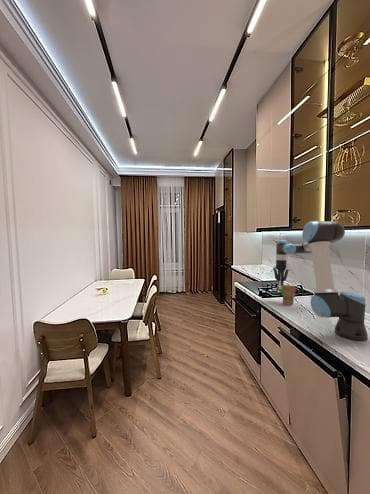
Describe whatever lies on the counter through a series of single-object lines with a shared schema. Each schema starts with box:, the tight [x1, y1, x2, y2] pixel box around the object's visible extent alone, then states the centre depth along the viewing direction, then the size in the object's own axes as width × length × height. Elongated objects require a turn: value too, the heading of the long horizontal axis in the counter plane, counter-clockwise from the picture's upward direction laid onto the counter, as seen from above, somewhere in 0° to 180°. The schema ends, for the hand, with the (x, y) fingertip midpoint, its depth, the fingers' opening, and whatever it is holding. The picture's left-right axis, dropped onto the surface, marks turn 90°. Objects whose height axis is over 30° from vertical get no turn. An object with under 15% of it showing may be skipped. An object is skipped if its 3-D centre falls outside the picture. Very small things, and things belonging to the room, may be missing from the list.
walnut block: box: [282, 285, 295, 307], centre depth 186 cm, size 7×5×14 cm
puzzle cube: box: [280, 282, 296, 298], centre depth 211 cm, size 10×10×10 cm
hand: (280, 289), depth 191 cm, fingers closed
